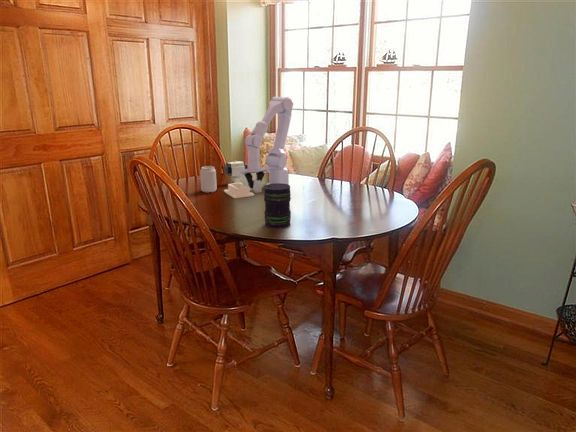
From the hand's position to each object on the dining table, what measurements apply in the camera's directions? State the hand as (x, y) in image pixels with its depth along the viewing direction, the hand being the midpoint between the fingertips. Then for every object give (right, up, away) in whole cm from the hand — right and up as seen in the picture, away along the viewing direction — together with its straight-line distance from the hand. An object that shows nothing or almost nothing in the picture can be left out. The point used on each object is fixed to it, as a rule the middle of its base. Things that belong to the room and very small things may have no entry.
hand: (254, 187), depth 230 cm
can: (-22, -2, +1) cm, 22 cm away
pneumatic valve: (-11, +3, +17) cm, 20 cm away
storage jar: (+12, -17, -51) cm, 56 cm away
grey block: (0, -2, +1) cm, 2 cm away
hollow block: (-7, -3, -5) cm, 9 cm away
